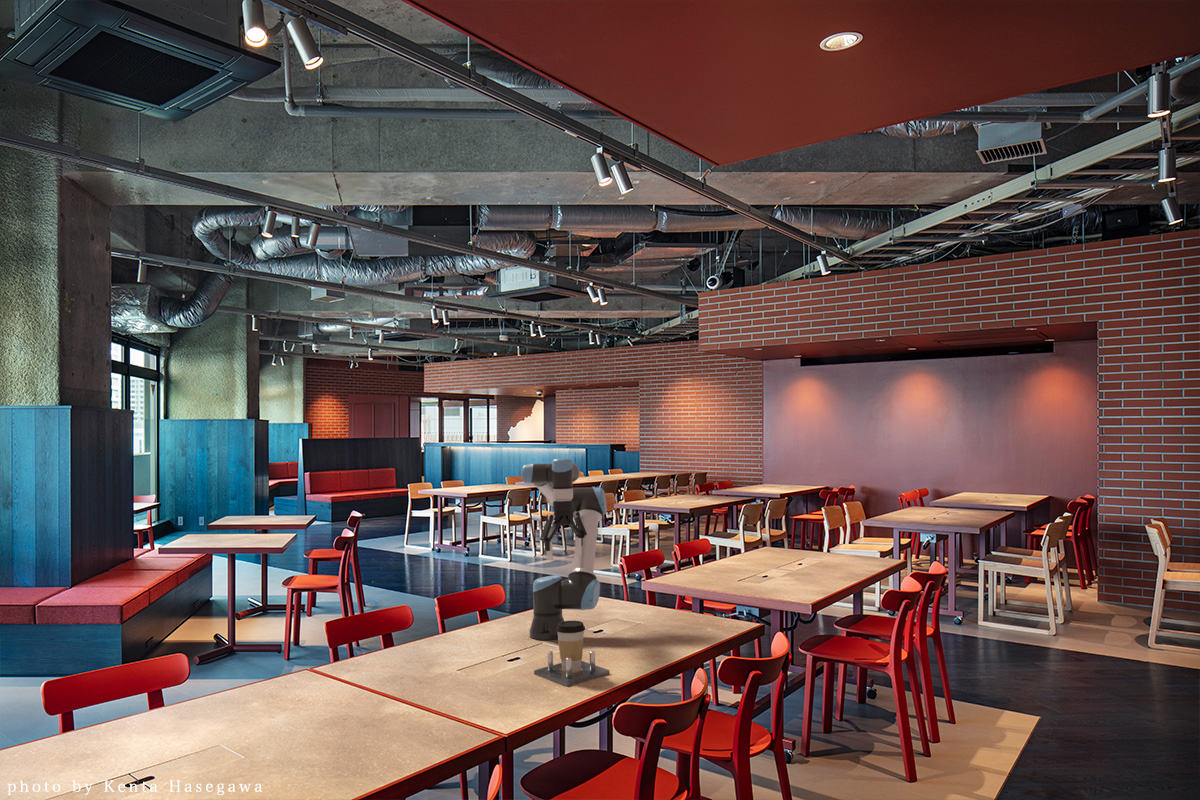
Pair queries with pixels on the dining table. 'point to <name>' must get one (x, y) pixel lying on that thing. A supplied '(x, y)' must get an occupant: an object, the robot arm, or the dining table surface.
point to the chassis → (570, 677)
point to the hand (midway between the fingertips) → (564, 557)
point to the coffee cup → (571, 643)
